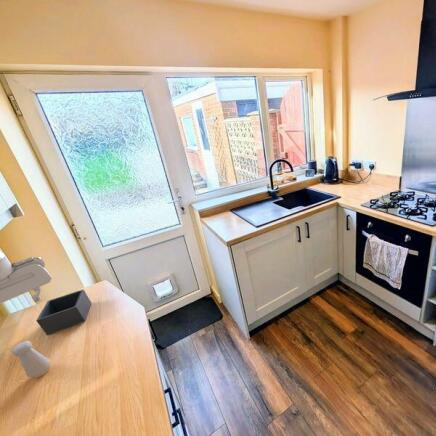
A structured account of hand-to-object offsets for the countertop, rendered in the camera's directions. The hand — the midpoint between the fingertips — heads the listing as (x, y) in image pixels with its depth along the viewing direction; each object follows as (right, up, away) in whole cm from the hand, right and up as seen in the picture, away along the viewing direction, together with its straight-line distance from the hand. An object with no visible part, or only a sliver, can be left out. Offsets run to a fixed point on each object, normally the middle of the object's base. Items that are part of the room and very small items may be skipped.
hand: (17, 310), depth 73 cm
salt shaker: (-2, -24, +9) cm, 26 cm away
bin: (-12, -15, +31) cm, 37 cm away
